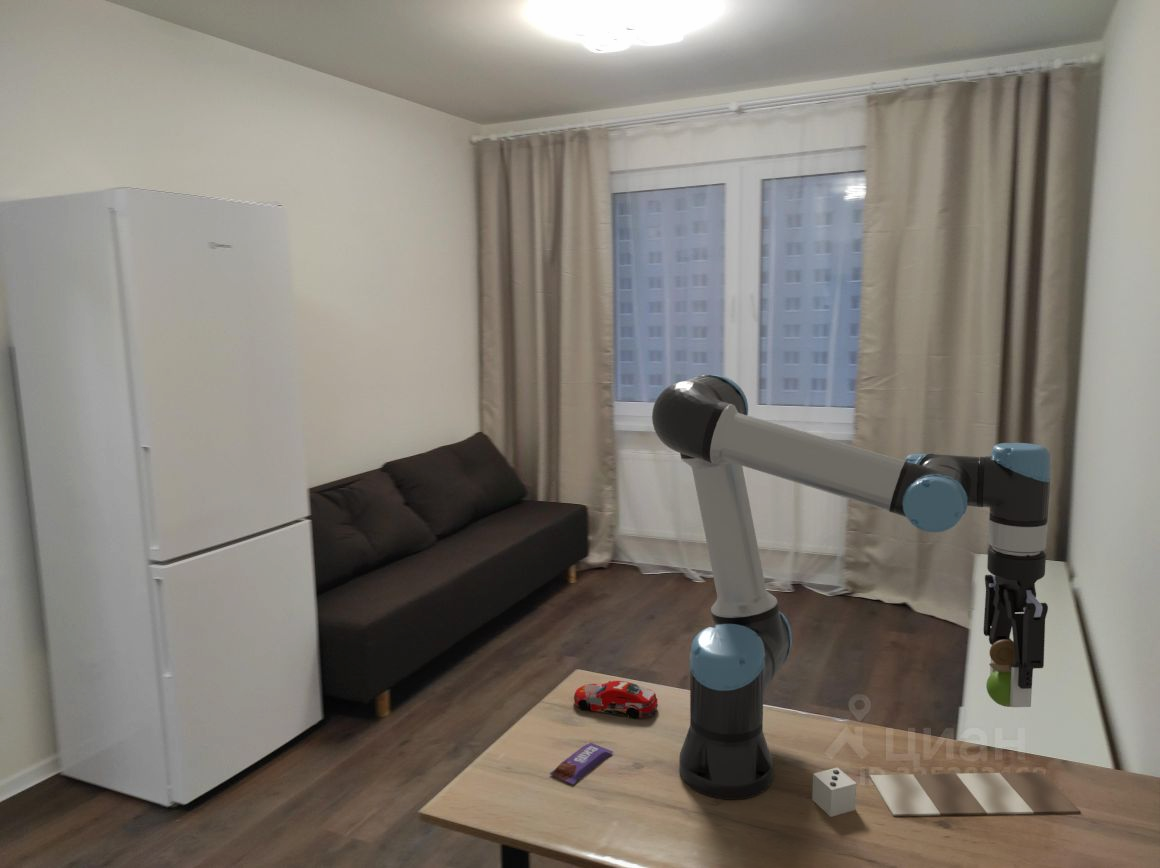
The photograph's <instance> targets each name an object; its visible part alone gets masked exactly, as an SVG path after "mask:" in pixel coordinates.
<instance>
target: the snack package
mask: <svg viewBox="0 0 1160 868" xmlns="http://www.w3.org/2000/svg"><path fill="white" fill-rule="evenodd" d="M613 753H614V751H612V750H610V749H607V748H605V747H603V746H600V745H598V744H595V743H593V742H589V743H588V744H585V745H583V746H581V747H580V748H579V749H578V750H577V751H575V752H574V753H572V754H571V755H570V756H568V757H567V758H565V760H563V761H561V763H559V764H558V766H557V767H555V769H553V770H552V771H550V772H549V775H551V776H553V777H554V778H555V777H556V778H557V779H559V780H563V781H564V782H566V783H569V784H571V785H575V784H576V783H577V782H578V781H579V780H580V779H581V778H584V776H585V775H587V774H588V773H589V772H590V771H592V770H593V769H594V768H596V767H597V766H598V764H600V763H602V761H604V760H605V759H607V758H608V757H609V756H610V755H612V754H613Z"/></svg>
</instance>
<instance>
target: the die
mask: <svg viewBox="0 0 1160 868" xmlns="http://www.w3.org/2000/svg"><path fill="white" fill-rule="evenodd" d="M811 800H812V801H813V802H814V803H816V805H817V806H818V807H820V809H822V810H823V811H824V812H825V813H826V814H827V815H828V816H829V817H830V818H833V817H835V816H838V815H843V814H846V813H849V812H854V811H856V808H857V807H856V804H857V803H856V802H857V782H856V781H854V779H852V778H851V777H849V775H848V774H846V773H845V772H844V771H842V770H841V769H840V768H839V767H834V768H830V769H829V768H828V769H826V770H822V771H818V772H814V773H813V774H812V797H811Z"/></svg>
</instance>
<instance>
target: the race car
mask: <svg viewBox="0 0 1160 868" xmlns="http://www.w3.org/2000/svg"><path fill="white" fill-rule="evenodd" d="M573 699H574V700H573V701H574V704H575V706H576V707H577V708H578V707H579V710H580V711H584V712H589V711H592V712H599V713H604V714H612V715H618V716H622V717H626V716H627V718H629V719H634V720H637V719H638V718H640V719H642V718H644V719H645V718H648V717H651V716H652V715H655V713H656V711H657V708H658V707H659V704H658V698H657V694H656V693H655V691H653V690H652V689H650V688H646V687H645V686H642V685H640V684H636V683H632V682H629V681H623V680H609V681H608V682H605V683H589V684H588V683H587V684H584V685H582V686H580V687H578V688H577V689H576V690H575V692H574V695H573Z"/></svg>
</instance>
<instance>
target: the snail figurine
mask: <svg viewBox="0 0 1160 868" xmlns="http://www.w3.org/2000/svg"><path fill="white" fill-rule="evenodd" d="M1011 640H1012V639H1011ZM1011 640H1007V639H1003V640H999V641H996V642H995V643H994V644H993V645H991V646H990V649H989V657H990V660H991V659H992V660H993V661H994V662H995V663H996V664H994V663H991V662H990V663H989V666H991V667H992V668H993V669H994V670H995V672H993V673H992V674H991V675H990V674H989V676H988V677H987V679H986V691H987V694H988V696H989V697H990V699H992V700H993V701H994V702H995V703H996V704H998V705H999V706H1002V707H1007V708H1013V707H1012V706H1010V689H1011V668H1012V666H1011V664H1010V663H1014V662H1015V652H1014V641H1013V640H1012V641H1011Z"/></svg>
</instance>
